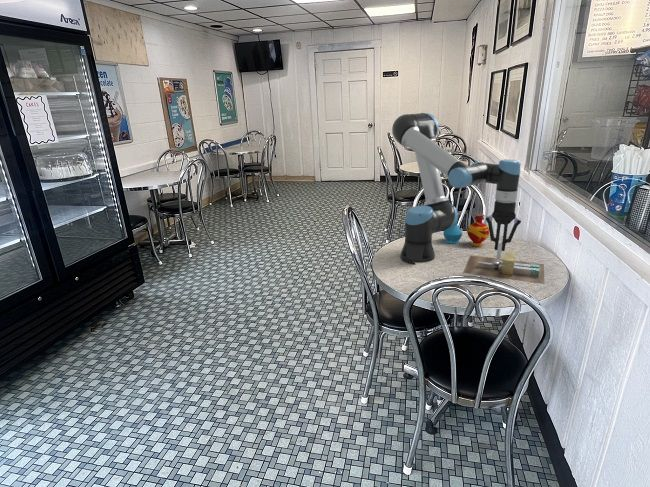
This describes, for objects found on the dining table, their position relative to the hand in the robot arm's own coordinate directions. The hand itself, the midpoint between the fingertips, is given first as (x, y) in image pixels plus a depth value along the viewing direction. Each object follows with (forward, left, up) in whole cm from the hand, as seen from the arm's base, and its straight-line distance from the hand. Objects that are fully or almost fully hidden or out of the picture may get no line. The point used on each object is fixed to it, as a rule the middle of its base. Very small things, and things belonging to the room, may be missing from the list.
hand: (498, 257), depth 159 cm
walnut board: (+2, +2, -6) cm, 7 cm away
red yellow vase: (-12, +32, -6) cm, 34 cm away
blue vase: (-24, +33, -6) cm, 41 cm away
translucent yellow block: (+4, 0, -5) cm, 6 cm away
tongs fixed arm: (+4, -1, -5) cm, 6 cm away
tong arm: (+6, +1, -5) cm, 8 cm away
